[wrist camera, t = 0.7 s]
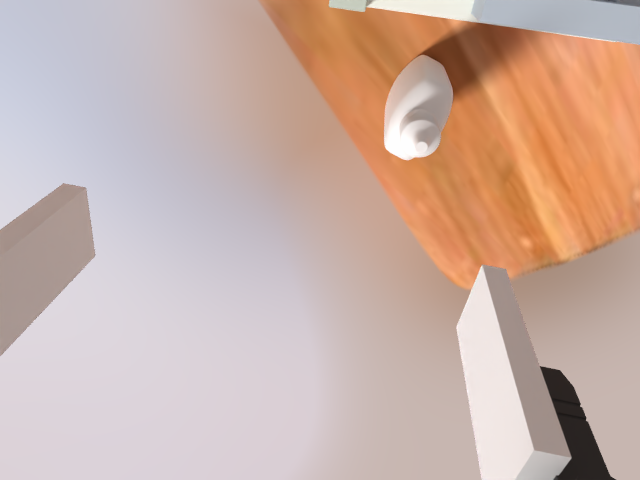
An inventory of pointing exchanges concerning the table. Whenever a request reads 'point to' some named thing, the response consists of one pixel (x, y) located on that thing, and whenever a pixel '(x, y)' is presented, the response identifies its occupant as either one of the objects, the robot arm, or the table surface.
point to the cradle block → (566, 17)
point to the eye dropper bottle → (417, 109)
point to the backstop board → (422, 8)
